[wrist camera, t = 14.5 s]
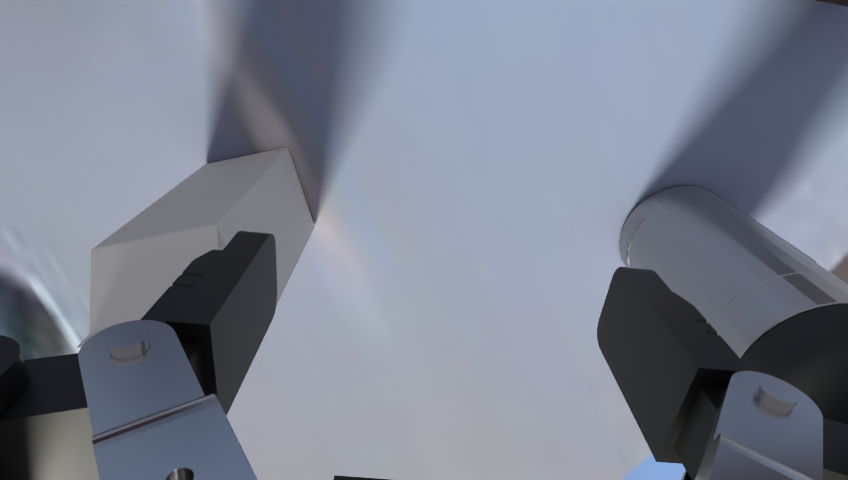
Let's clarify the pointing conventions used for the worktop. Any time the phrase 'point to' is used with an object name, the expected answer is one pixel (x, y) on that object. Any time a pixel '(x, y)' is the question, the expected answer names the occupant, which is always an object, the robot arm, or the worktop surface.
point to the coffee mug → (836, 2)
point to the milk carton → (198, 232)
